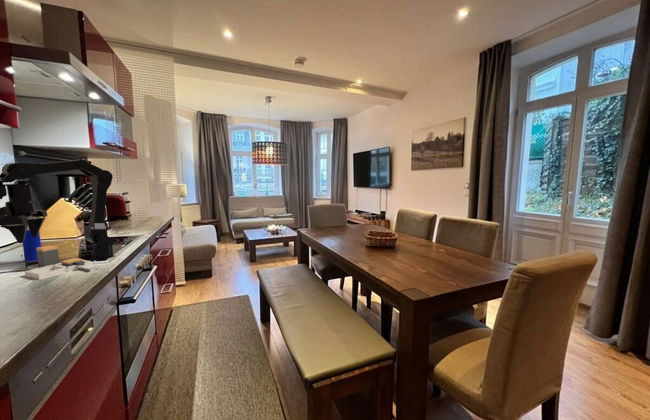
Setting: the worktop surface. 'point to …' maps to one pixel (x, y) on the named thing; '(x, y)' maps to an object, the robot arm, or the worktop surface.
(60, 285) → the worktop surface
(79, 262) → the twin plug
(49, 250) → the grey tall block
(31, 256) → the beverage can
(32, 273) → the two-cubby shelf
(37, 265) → the tray
